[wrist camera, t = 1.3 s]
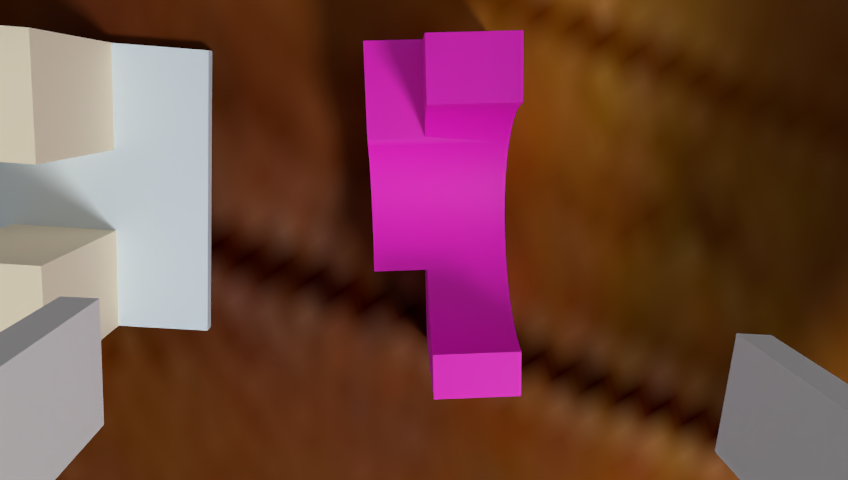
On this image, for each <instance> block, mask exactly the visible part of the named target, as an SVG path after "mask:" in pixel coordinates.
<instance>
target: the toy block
mask: <svg viewBox="0 0 848 480" xmlns="http://www.w3.org/2000/svg"><path fill="white" fill-rule="evenodd" d="M363 52H364V75H365V98H366V121H367V141H368V152H369V165H370V179H371V197H372V218H373V246H374V272H377V271H406V270H425V284H426V322H427V343H428V352H429V361H430V370H431V379H432V388H433V398H434V399H457V398H483V397H508V396H521V349H520V346H519V343H518V339H517V335H516V331H515V326H514V321H513V316H512V310H511V303H510V296H509V287H508V277H507V266H506V249H505V179H506V164H507V154H508V146H509V140H510V134H511V129H512V124H513V121H514V117H515V114H516V112H517V110H518V108H519V106H520V105H521V104H522V103H523V56H524V30H514V31H471V32H427V33H425V34H424V36H423V39H412V40H369V41H363Z"/></svg>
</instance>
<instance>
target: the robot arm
mask: <svg viewBox="0 0 848 480" xmlns="http://www.w3.org/2000/svg"><path fill="white" fill-rule="evenodd" d="M103 425H104V413H103V385H102V358H101V330H100V303H99V298H82V297H63V296H60V297H58V298H56V299H55V300H53V301H51V302H50V303H48V304H46V305H45V306H43V307H41V308H40V309H38V310H36V311H35V312H33V313H31V314H30V315H28V316H26V317H25V318H23V319H21V320H20V321H18V322H16V323H15V324H13V325H11V326H10V327H8V328H6V329H5V330H3V331H1V332H0V480H55V479H56V478H57V477H58V476H59V475H60V474H61V472H62V471H63V470H64V469H65V468H66V467H67V466H68V465H69V463H70V462H71V461H72V460H73V459H74V458H75V457H76V455H77V454H78V453H79V452H80V451H81V450H82V449H83V448H84V446H85V445H86V444H87V443H88V442H89V441H90V440H91V439H92V437H93V436H94V435H95V434H96V433H97V432H98V431H99V430H100V428H101V427H102V426H103ZM715 452H716V453H717V455H718V456H719V457H720V458H721V459H722V460H723V461H724V462H725V464H726V465H727V466H728V467H729V468H730V469H731V470H732V471H733V473H734V474H735V475H736V476H737V477H738V478H739V479H740V480H848V384H847V383H845V382H844V381H842V380H841V379H839V378H838V377H836V376H834V375H833V374H831V373H830V372H828V371H827V370H825V369H824V368H822V367H820V366H819V365H817V364H816V363H814V362H813V361H811V360H810V359H808V358H806V357H805V356H803V355H802V354H800V353H799V352H797V351H796V350H794V349H792V348H791V347H789V346H788V345H786V344H785V343H783V342H782V341H780V340H778V339H777V338H775V337H774V336H772V335H760V334H742V333H736V339H735V344H734V350H733V355H732V360H731V366H730V371H729V377H728V382H727V388H726V393H725V399H724V404H723V410H722V415H721V420H720V426H719V431H718V437H717V442H716V448H715Z"/></svg>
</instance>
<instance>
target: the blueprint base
mask: <svg viewBox="0 0 848 480" xmlns="http://www.w3.org/2000/svg"><path fill="white" fill-rule="evenodd" d="M211 185H212V51H210V50H199V49H186V48H173V47H160V46H147V45H134V44H122V43H110V42H105V41H99V40H94V39H89V38H83V37H78V36H72V35H67V34H62V33H56V32H51V31H45V30H40V29H34V28H29V27H17V26H4V25H0V332H1V331H3V330H5V329H6V328H8V327H10V326H11V325H13V324H15V323H16V322H18V321H20V320H21V319H23V318H25V317H26V316H28V315H30V314H31V313H33V312H35V311H36V310H38V309H40V308H41V307H43V306H45V305H46V304H48V303H50V302H51V301H53V300H55V299H56V298H58V297H60V296H63V297H82V298H99V303H100V330H101V340H102V339H103V338H104V337H105V336H107V335H108V334H109V333H110V332H111V331H113V330H114V329H115V328H116V327H118V326H135V327H153V328H171V329H188V330H206V331H208V329H209V328H210V327H211Z"/></svg>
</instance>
